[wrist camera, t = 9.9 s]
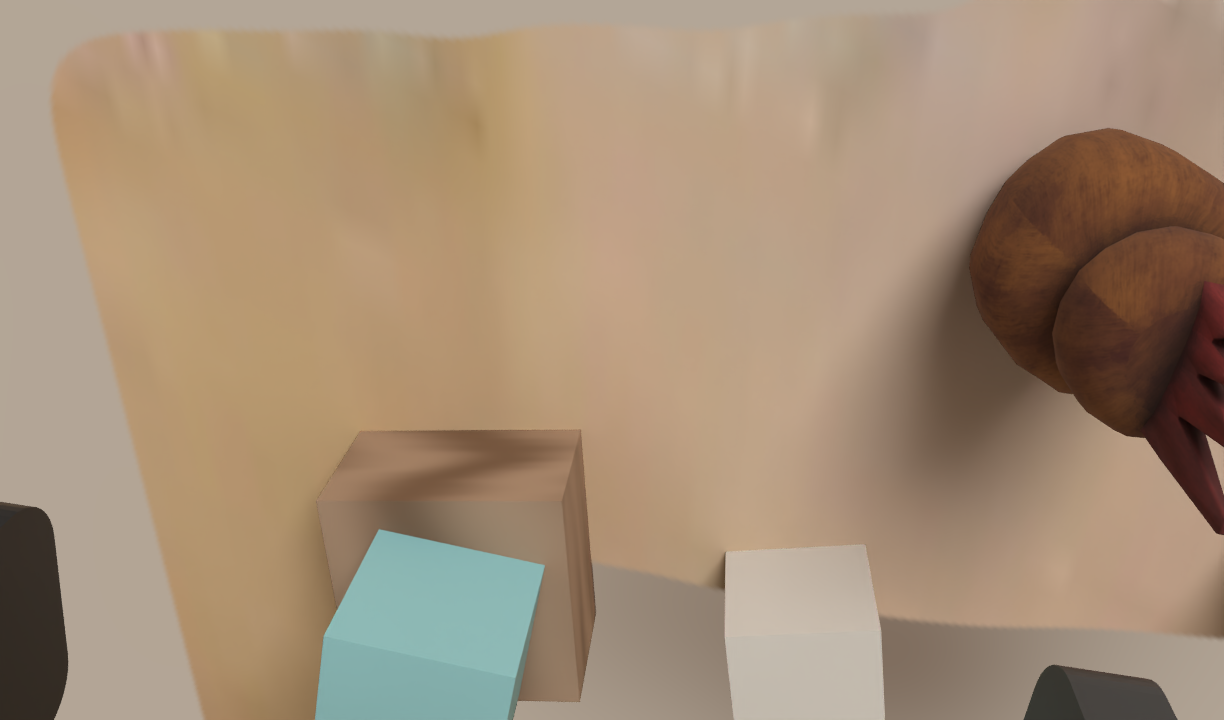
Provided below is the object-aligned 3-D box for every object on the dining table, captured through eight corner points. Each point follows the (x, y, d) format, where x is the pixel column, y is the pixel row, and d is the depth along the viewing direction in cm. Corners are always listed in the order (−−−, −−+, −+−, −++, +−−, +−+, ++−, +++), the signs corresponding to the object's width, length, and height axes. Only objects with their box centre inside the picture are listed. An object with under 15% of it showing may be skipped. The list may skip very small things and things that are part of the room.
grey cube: (865, 542, 41) (880, 630, 37) (870, 654, 43) (886, 750, 39) (725, 550, 42) (724, 637, 37) (737, 660, 44) (737, 755, 39)
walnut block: (581, 426, 40) (561, 501, 36) (596, 612, 44) (579, 701, 39) (362, 428, 41) (315, 500, 37) (392, 609, 45) (353, 696, 40)
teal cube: (545, 565, 37) (515, 677, 32) (519, 695, 39) (487, 819, 34) (378, 529, 37) (323, 636, 32) (362, 660, 39) (308, 779, 34)
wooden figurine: (1063, 345, 37) (1251, 639, 24) (918, 254, 36) (1026, 503, 23) (1214, 173, 34) (1525, 393, 21) (1060, 70, 34) (1281, 229, 20)
